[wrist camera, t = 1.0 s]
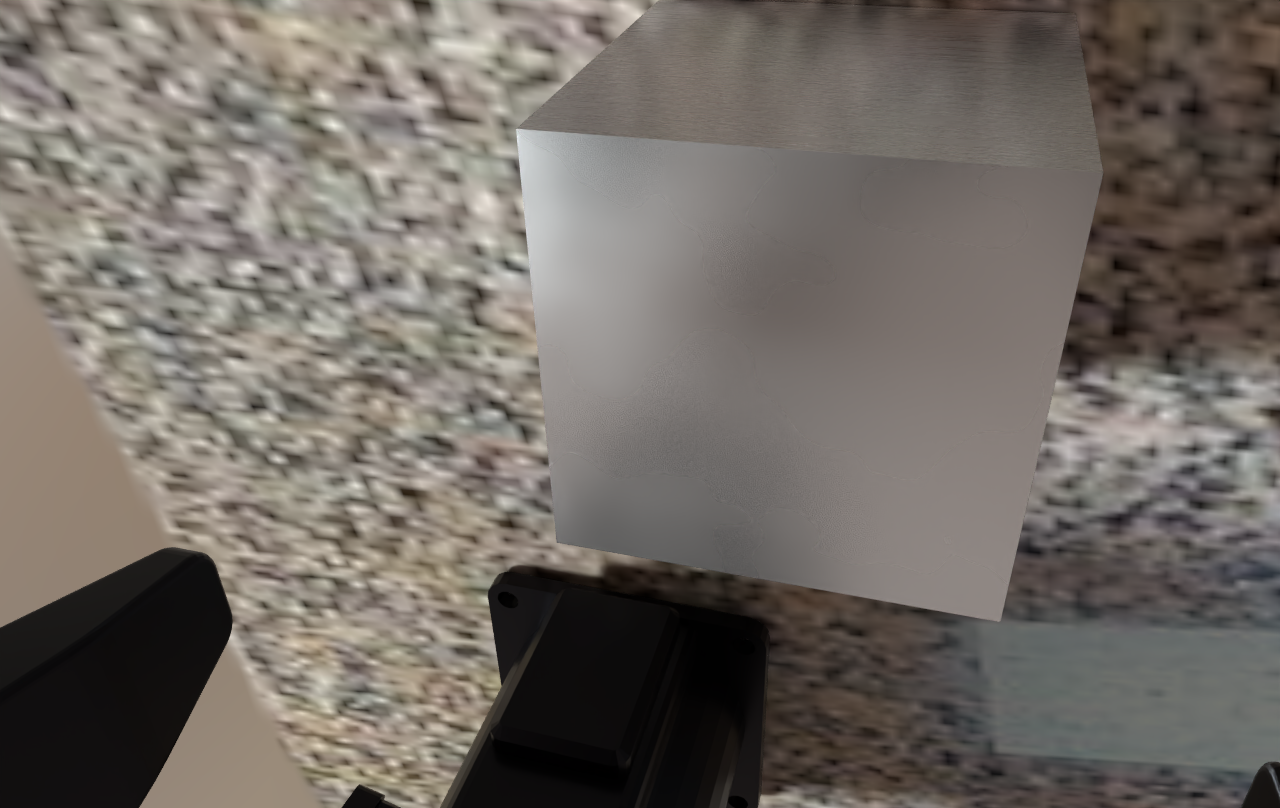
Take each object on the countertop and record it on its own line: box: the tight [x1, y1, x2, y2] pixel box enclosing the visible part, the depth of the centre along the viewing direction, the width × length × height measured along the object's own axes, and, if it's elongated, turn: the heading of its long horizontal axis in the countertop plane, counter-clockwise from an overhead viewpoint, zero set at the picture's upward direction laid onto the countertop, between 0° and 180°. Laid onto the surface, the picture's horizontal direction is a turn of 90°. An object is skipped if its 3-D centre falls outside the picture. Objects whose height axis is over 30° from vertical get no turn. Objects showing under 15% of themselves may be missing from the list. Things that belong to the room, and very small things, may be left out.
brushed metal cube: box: [516, 0, 1103, 622], centre depth 15 cm, size 6×6×6 cm
